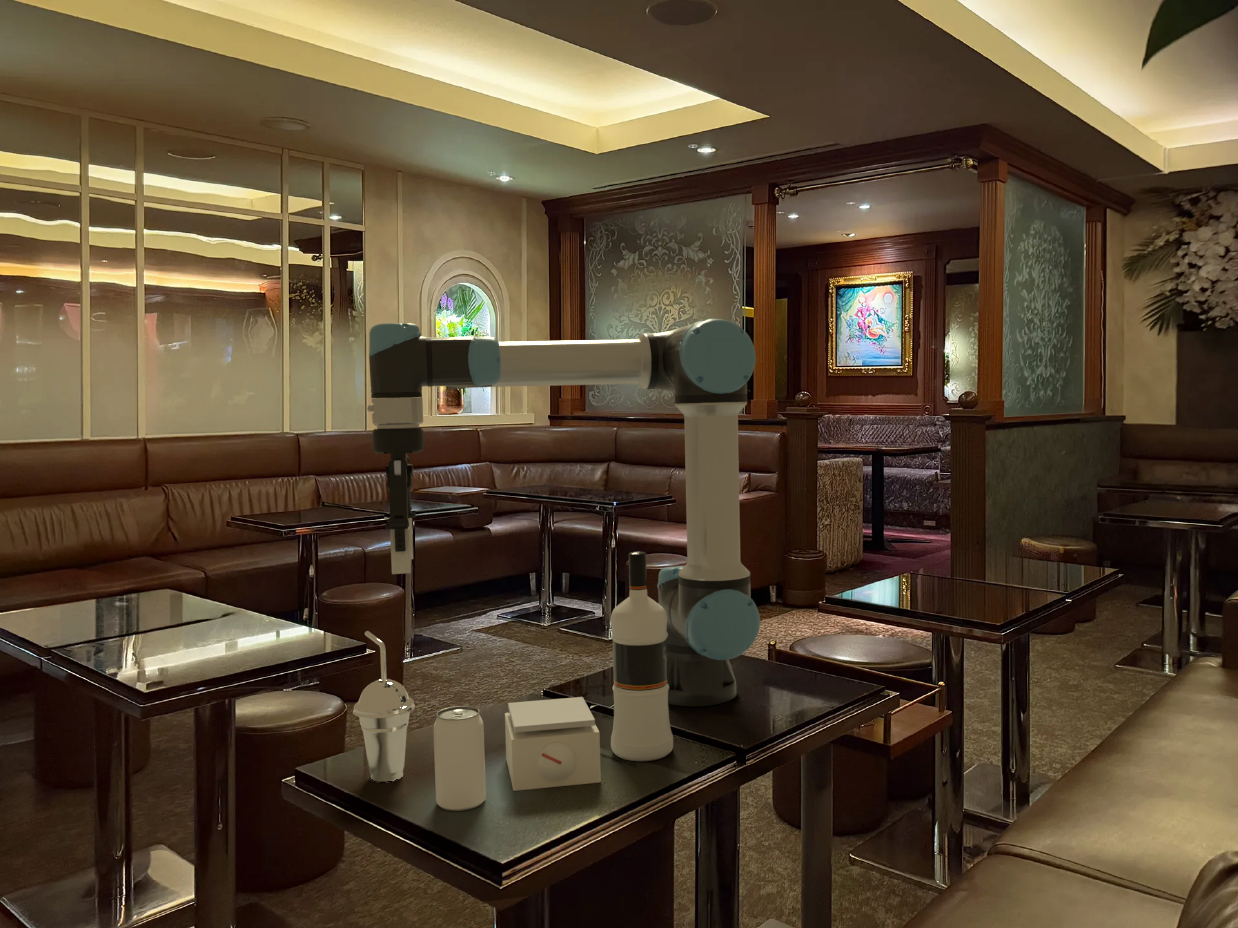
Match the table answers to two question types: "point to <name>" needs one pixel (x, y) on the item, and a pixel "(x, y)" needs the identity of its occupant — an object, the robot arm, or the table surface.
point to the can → (459, 758)
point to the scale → (551, 744)
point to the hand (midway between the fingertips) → (403, 566)
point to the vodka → (640, 672)
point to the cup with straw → (384, 722)
